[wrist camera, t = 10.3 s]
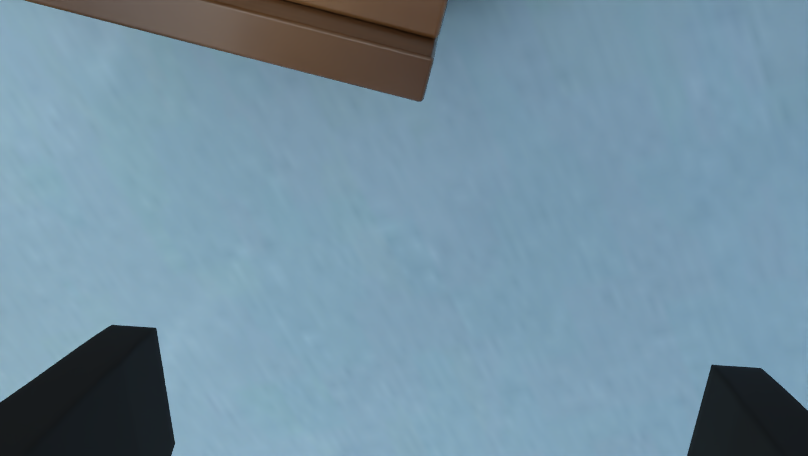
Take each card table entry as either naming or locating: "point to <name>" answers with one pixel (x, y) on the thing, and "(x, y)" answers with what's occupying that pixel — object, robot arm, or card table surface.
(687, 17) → the card table surface
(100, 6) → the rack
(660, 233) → the card table surface
